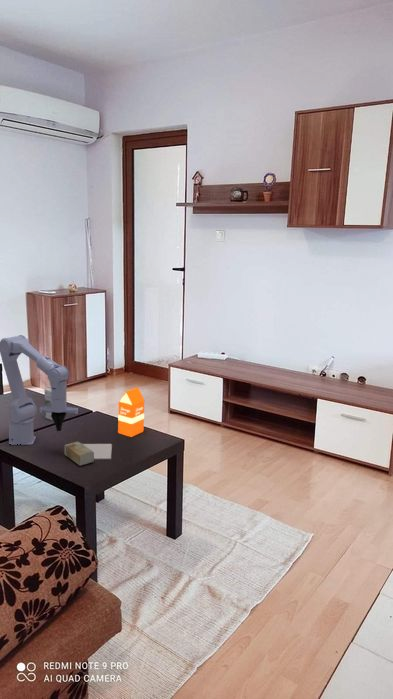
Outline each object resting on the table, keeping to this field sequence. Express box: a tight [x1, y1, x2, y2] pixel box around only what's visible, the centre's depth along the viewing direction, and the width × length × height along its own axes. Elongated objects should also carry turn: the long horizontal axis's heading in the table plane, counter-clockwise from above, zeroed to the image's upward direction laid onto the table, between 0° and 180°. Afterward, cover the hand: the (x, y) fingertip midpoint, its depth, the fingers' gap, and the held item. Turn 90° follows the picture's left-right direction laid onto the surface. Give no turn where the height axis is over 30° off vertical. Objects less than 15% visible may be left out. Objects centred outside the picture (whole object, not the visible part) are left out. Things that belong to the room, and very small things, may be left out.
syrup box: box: [44, 386, 54, 422], centre depth 236 cm, size 6×6×14 cm
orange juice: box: [117, 387, 145, 438], centre depth 224 cm, size 8×9×20 cm
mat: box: [82, 443, 113, 460], centre depth 204 cm, size 14×14×1 cm
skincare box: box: [63, 441, 95, 467], centre depth 196 cm, size 6×4×12 cm
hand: (59, 430), depth 200 cm, fingers closed
